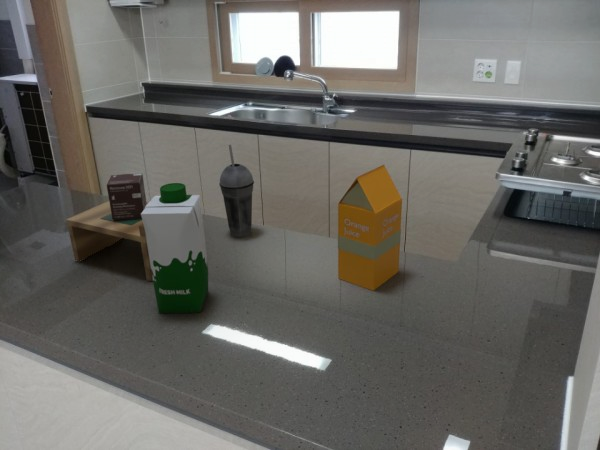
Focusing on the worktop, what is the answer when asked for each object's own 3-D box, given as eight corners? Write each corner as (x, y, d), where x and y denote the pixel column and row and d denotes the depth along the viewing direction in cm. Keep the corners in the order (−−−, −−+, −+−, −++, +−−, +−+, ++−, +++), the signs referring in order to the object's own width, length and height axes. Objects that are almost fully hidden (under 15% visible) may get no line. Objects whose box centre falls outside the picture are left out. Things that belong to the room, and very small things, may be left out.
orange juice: (399, 271, 99) (404, 167, 91) (373, 291, 93) (376, 181, 85) (363, 260, 104) (365, 160, 96) (337, 278, 98) (336, 173, 90)
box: (112, 221, 102) (105, 184, 99) (116, 209, 107) (110, 174, 104) (145, 218, 102) (139, 182, 99) (148, 207, 108) (142, 172, 105)
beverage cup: (263, 229, 118) (258, 141, 110) (244, 242, 113) (237, 150, 105) (237, 224, 122) (230, 137, 114) (217, 236, 116) (208, 146, 108)
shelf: (75, 260, 107) (63, 209, 103) (126, 234, 118) (117, 187, 114) (151, 281, 98) (142, 226, 94) (198, 250, 110) (192, 200, 105)
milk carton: (214, 288, 95) (202, 181, 88) (204, 316, 87) (190, 201, 79) (165, 288, 96) (149, 182, 88) (151, 316, 88) (132, 202, 80)
